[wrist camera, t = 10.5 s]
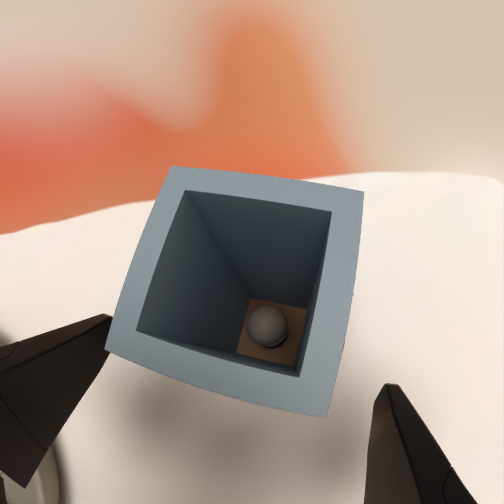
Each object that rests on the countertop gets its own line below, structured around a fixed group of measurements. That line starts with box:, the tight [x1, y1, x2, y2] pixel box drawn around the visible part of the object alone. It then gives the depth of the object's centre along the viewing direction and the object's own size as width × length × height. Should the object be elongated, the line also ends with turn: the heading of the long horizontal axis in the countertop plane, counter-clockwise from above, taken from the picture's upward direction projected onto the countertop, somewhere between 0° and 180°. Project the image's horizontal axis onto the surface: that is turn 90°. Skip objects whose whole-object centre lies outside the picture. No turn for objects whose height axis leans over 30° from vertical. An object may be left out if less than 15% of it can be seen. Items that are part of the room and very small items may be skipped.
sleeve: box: [105, 166, 364, 418], centre depth 12 cm, size 5×5×12 cm
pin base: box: [236, 298, 345, 367], centre depth 15 cm, size 9×9×5 cm
